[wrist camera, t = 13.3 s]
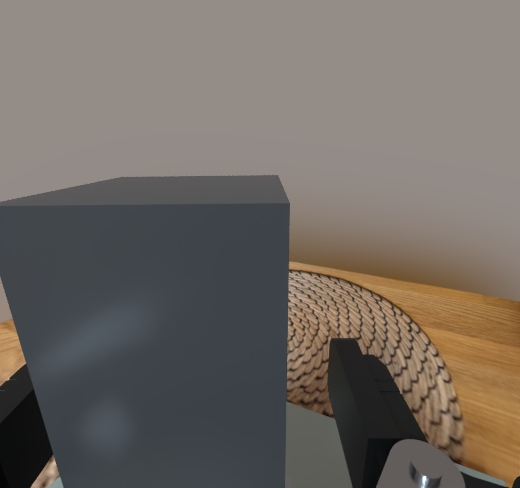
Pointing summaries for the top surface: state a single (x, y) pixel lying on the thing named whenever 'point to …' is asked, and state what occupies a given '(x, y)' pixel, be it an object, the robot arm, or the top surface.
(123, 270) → the grey pillar on base
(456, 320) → the top surface
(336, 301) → the top surface
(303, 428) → the board
